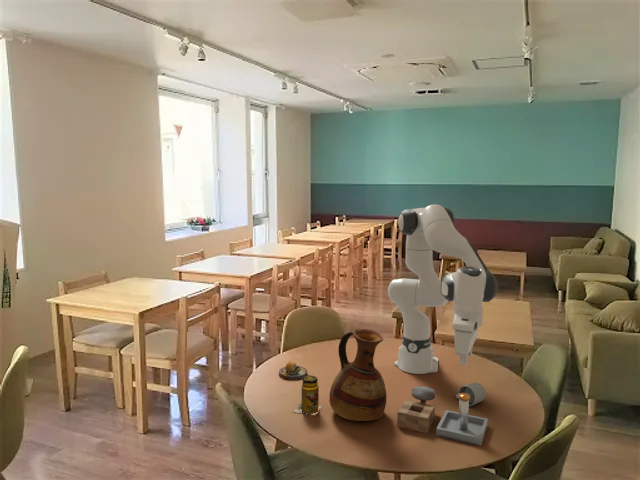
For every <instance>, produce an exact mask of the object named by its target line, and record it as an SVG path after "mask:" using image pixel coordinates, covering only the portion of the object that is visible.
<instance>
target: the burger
mask: <svg viewBox="0 0 640 480" xmlns="http://www.w3.org/2000/svg"><path fill="white" fill-rule="evenodd" d="M278 375H279V377H280V378H282V379H283V380H287V381H288V380H289V381H297V380H296V379H299V380H302V379H303V378H304V377H305V376H308V370H307V368H305V367H304V366H300V365H297V363H296V361H295V362H294V361H291V360H289V361H288V362H286V365H285V367H281V368H280V369H279V371H278ZM301 378H302V379H301Z"/></svg>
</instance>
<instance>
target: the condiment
mask: <svg viewBox="0 0 640 480" xmlns="http://www.w3.org/2000/svg"><path fill="white" fill-rule="evenodd" d="M318 380H319V379H318V377H316V376H315V375H307V376H305V377H304V378H302V385H301V402H300V403H299V404H298V405H297V406H298V407H296V408H295V409H294V410H293V413H296V414H303V413H302V412H304V413H307V414H313V413H316V412H318V408H320V410H321V409H322V408H323V406H322V405H319V404H320V402H319V388H320V386H319V384H318V383H319V382H318ZM300 406H301V407H300ZM300 409H302V412H300V411H299V410H300ZM318 413H319V412H318ZM318 413H317V414H315V415H313V416H314V417H315V416H317V415H318ZM307 414H306V415H307ZM303 415H304V414H303Z"/></svg>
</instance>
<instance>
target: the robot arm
mask: <svg viewBox="0 0 640 480" xmlns="http://www.w3.org/2000/svg"><path fill="white" fill-rule="evenodd" d="M397 222H398V223H397V224H398V228H399V231H400V232H401V234H402V235H404V236H405V235H406V239H405V265H406V267H407V268H408V270H409V271H411V272H412V273H415V274H416V276H418V279H416V278H405V277H403V278H394V279H393V280H391V281H390V283H389V285H388V287H387V295H388V297H389V299H390V300H391V302H393V303H394V304H395V305H396V306H397V307H398V309H399V311H400V312H401V316H402V319H403V335H402V338H401V339H402V340H401V341H402V342H401V343H402V344H401V345H400V346H399V347H398V354H397V357H398V358H397V360H396V361H394V366H397V368H398V369H400V370H401V371H403V372H406V373H408V374H413V375H424V374H431V373H437V372H438V369H439V357H436V356H434V354H435V353H434V352H435V351H434V347H433V346H432V340H431V338H432V334H431V321H430V318H429V316H428V315H427V314H425V313H423V312H421V311H420V309H419V308H418V307H419V306H420V307H429V308H431V307H432V308H434V307H435V308H436V307H444V306H445V305H446V304H447V303H448V302H454V307H453V321H452V330H454V335H453V338H454V353H455V355H457V356H459V359H460V360H459V364H460V366H462V367H466V366H467V364H468V363H467V362H468V361H467V360H468V359H467V357H470V356H472V354H473V346H474V344H475V341H476V340H477V338H478V329H479V327H480V328H481V327H482V326H483V321H484V320H483V318H484V317H483V315H484V308H483V303H489V302H491V301H492V300H493V299H495V298H496V296H497V294H498V292H499V283H498V280H497V279H496V276H494V274H493V273H492V272H491V271H490V270H489V269H488V267H487V266H486V264H485V263H484V261H483V259H482V258H481V256H480V254H479V252H478V251H477V250H476V248H475V247H474V245H473V244H472V242H471V241H470V240H469V239H468V238H467V237H465V236H463V235H462V234H461V233H460V232H459V231H458V230H457V229H456V227H455V216H454V212H453V211H452V210H451V208H447V207H443V206H442V205H440V204H429V205H427V206H426V207H418V208H406V209H403V210H401V212H399V216H398V220H397ZM433 251H435V252H436V253H439V254H443V255H448V256H452V257H454V258H457V259H460V260H462V261H463V262H464V263H465V265H464V266H461V267H459V268H457V270H456V271H455V272H449V273H446V274H444V276H443V277H442V279H440V278H439V276H438V275H437V273H436V271H435V267H434V261H433V257H434V256H433V255H434V253H433Z"/></svg>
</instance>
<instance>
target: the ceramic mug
mask: <svg viewBox="0 0 640 480" xmlns="http://www.w3.org/2000/svg"><path fill="white" fill-rule="evenodd" d="M459 393H467V394H469V395H470V400H469V407H472V406H475V405H476V404H479V403H481V402H482V401H483V400H485V398H486V394H487V392H486V389H485V387H484V386H483V385H482V384H480V383H479V382H471V383H469V384H464V385H462V386H461V387H459V388H458V392H457V393H455V397H456V399H459Z"/></svg>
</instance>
